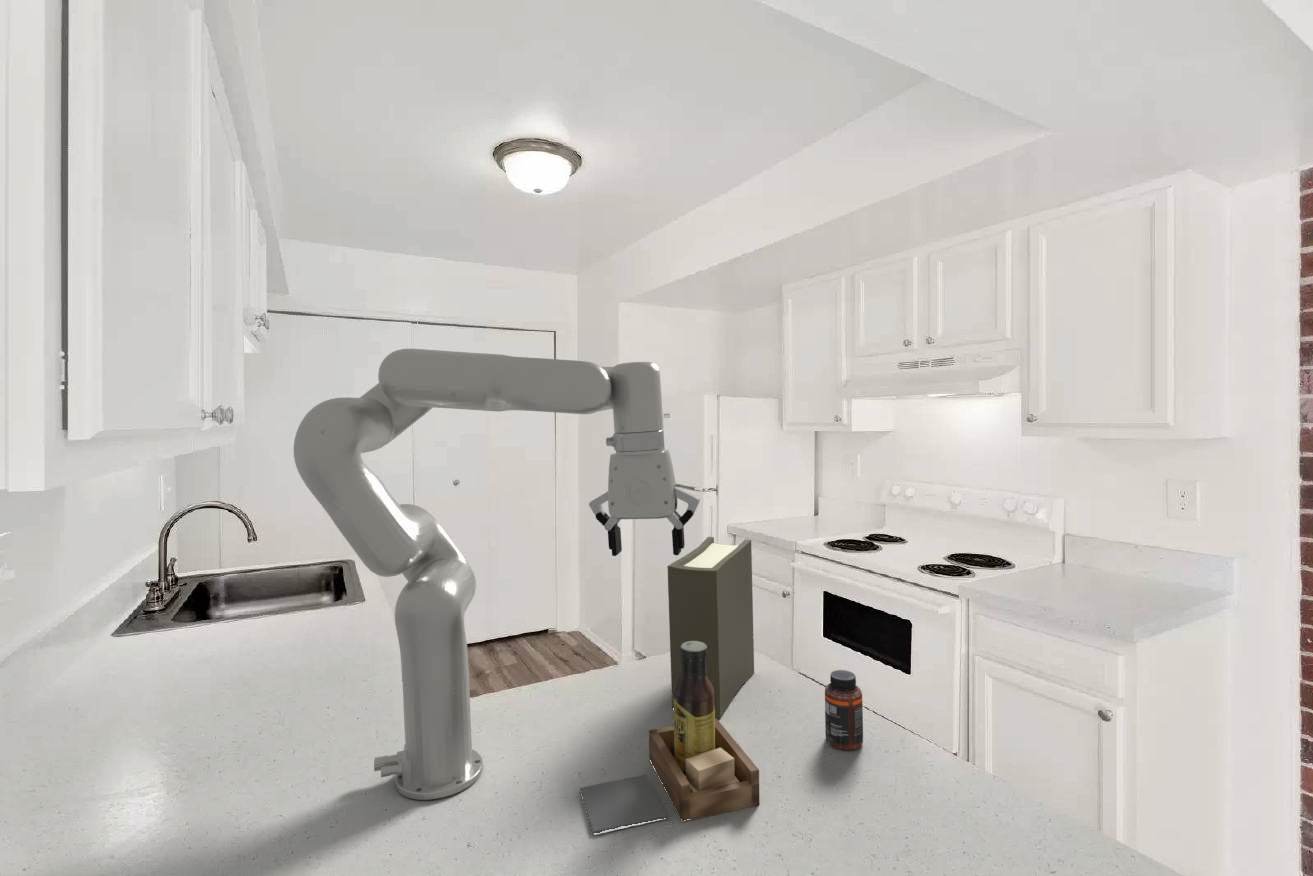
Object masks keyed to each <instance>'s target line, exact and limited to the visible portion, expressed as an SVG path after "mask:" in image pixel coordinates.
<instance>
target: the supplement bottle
mask: <svg viewBox="0 0 1313 876" xmlns="http://www.w3.org/2000/svg"><path fill="white" fill-rule="evenodd" d="M829 677H830V681H829V682H830V683H828V684H827V685H826V687H825V688H824V714H825V715H824V716H825V718H824V720H825V722H824V723H825V726H824V727H825V728H824V732H825V740H826V742H827V743H828V745H830V746H832V747H833V748H835V749H838V750H842V751H843V750H844V751H852V750H853V751H854V750H857V749H859V748H860V747H862V746H863V743H864V717H863V714H864V713H863V710H864V709H863V693H862V690H861V689H860V687H859V686H858V685H856V684H857V676H856V674H855V673H853V672H852V671H850V670H845V669H837V670H833V671H832V672H830V676H829Z"/></svg>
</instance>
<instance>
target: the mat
mask: <svg viewBox="0 0 1313 876" xmlns="http://www.w3.org/2000/svg"><path fill="white" fill-rule="evenodd" d="M580 791H581V794H582V797H583V800H582V802H583V801H584V803H583V806H584V805H585V807H584V809H585V808H586V810H585V812H586V811H587V813H586V816H587V815H588V816H587V818H588V817H589V819H588V821H589V820H590V823H589V825H590V824H591V826H590V828H591V827H592V829H591V831H592V830H593V832H592V834H593V833H600V832H602V831H605V830H609V829H615V828H618V827H621V826H628V825H632V824H638V823H642V822H648V821H653V820H657V819H664V818H667V813H666V811H665V809H664V808H663V805H662V803H661V802H660V799H659V797H658V796H657V794H656V792H655V789H654V788H653V785H652V784H651V781H650V780H649V778H648V776H647V774H641V775H637V776H636V775H635V776H632V777H626V778H622V779H617V780H612V781H607V782H602V783H597V784H592V785H588V786H587V785H586V786H583V787H579V792H580ZM581 794H580V795H581ZM582 797H581V798H582ZM667 819H668V818H667Z"/></svg>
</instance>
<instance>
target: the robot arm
mask: <svg viewBox="0 0 1313 876" xmlns="http://www.w3.org/2000/svg"><path fill="white" fill-rule="evenodd" d="M377 374H378V375H377V377H378V383H377V384H375V385H374V386H373V387H372V388H371V389H369V390H367V392H365V393H364V394H363V395H361V396H360V397H334V398H330V399H327V400H324V401H322V402H320V403H318V404H316V405H315V406H314V407H312V408H311V409H310V410H308V412H307V413H306V414H305V416H304V417H303V418H302V420H301V421H300V424H299V425H298V427H297V429H296V433H295V436H294V439H293V457H294V463H295V466H296V470H297V472H298V474H299V476H300V478H301V479H302V482H303V483H304V485H305V486H306V488H307V489H308V490H309V491H310V493H311V494H312V495H313V497H314V498H315V499H316V501H317V502H318V503H319V504H320V505H321V507H322V508H323V509H324V511H325V512H326V514H327V515H328V516H329V517H330V519H331V520H332V522H333V523H334V525H335V526H336V528H337V529H338V530H339V532H340V533H341V535H342V536H343V537H344V539H345V541H347V542H348V544H349V545H350V547H351V548H352V549H353V551H354V552H355V554H356V555H357V557H358V558H359V559H360V560H361V562H362V563H363V565H364V566H365V567H366V568H367V569H368V570H369V571H370V572H372V573H373V574H375V575H377V576H379V577H385V578H389V577H396V576H400V575H401V574H402V575H403V576H404V578H405V579H406V580H407V583H406V584H405V585H404V587H403V588H402V589H401V591H400V593H399V595H398V596H397V600H396V604H395V608H394V623H395V624H394V625H395V629H396V635H397V640H398V645H399V647H398V648H399V653H400V663H401V664H400V665H401V683H402V701H403V720H404V721H403V722H404V723H403V724H404V742H405V743H404V746H403V750H399V751H397V752H396V754H391V755H382V756H381V755H380V756H375V757H374V759H373V770H374V772H379V771H380V777H381V778H386V777H390V776H394V775H395V787H396V790H397V791H398V792H399V794H401V795H402V796H404V797H405V798H406V797H407V798H409V799H413V800H420V801H422V800H423V801H428V800H430V801H431V800H437V799H444V798H446V797H450V796H453V795H455V794H457V793H459V792H462V791H465V789H467V788H469V787H470V786H471V785H473V784H474V783H475V782H476V781H477V780H478V779H479V778H480V776H481V775H480V774H482V773H481V772H483V770H482V769H484V760H483V757H482V755H481V754H480V753H479V752H478V751H476V750H474V749H473V748H472V747H473V746H472V745H473V744H472V743H473V742H472V723H471V722H472V720H471V698H470V697H471V696H470V695H471V693H470V692H471V691H470V690H471V689H470V673H469V672H470V671H469V657H468V656H469V652H468V643H467V636H466V629H465V613H466V611H467V609H468V608H469V606H470V604H471V602H472V600H473V598H474V596H475V594H476V588H477V582H476V581H477V580H476V576H475V572H474V571H473V569H472V568H471V567H472V566H471V565H470V563H468V561H467V560H466V558H465V556H464V555H463V554H462V552H461V551H460V550H459V548H458V547H457V546H456V544H455V543H454V542H453V540H452V539H451V538H450V536H449V535H448V533H447V532H446V531H445V529H444V528H443V527H442V525H441V524H440V523H439V522H438V520H437V518H435V516H433V514H432V513H430V512H429V511H428V510H427V509H425V508H423V507H421V506H419V505H415V504H411V503H401V504H399V503H398V502H397V501H396V499H395V498H394V497H393V496H392V494H391V493H390V491H389V490H388V489H387V487H386V486H385V484H384V482H383V481H382V480H381V479H380V477H379V476H378V475H376V474H375V472H374V471H373V470H371V468H370V467H368V465H366V463H365V462H364V460H363V458H362V455H361V454H364V453H370V452H374V451H376V450H379V449H381V448H383V447H384V446H386V445H388V444H390V443H391V442H393V440H395V439H396V438H397V437H398V436H401V434H402V433H403V432H405V431H406V430H408V429H409V428H410V427H411V426H412V425H413V424H415V423H416V422H417V421H418V420H420V419H421V418H423V417H424V416H425V415H426V414H427V413H428V412H430V411H431V410H432V409H433V408H436V409H440V408H441V409H453V410H468V411H482V412H483V411H485V412H497V413H498V412H505V411H508V412H509V411H525V412H526V411H527V412H542V413H558V414H559V413H560V414H572V415H573V414H574V415H590V414H591V415H592V414H594V413H598V412H604V411H608V410H612V414H613V415H612V416H613V430H614V432H613V435H612V436H610V437H606V439H605V444H606V446H607V447H612V448H613V450H614V451H615V453H611V454H610V455H609V456H610V458H609V463H608V464H609V465H608V481H607V482H608V483H607V484H608V485H607V489H608V490H607V491H606V492H605V493H603V494H600V495H599V496H598V497H596V498H594V499H592V500H591V501H590V502H589V503H588V506H589V508H590V510H591V511H592V513H593V514H594V516H595V519H596V520H597V522H599V523H600V524H601V526H603V527H604V530H605V531H607V539H608V540H607V541H608V542H607V543H608V549H609V550H611V555H612V556H613V557H616V556H618V555H619V554H620V553H621V552H622V550H623V549H622V532H621V528H620V526H618V524H619V522H620V521H621V520H652V519H653V520H654V519H667V520H668V521H669V523H671V525H673V528H672V530H671V540H672V554H673V555H674V556H679V555H680V554H681V552H682V550H684V548H685V544H686V542H685V532H684V530H685V529H684V526H685V525H687V523H688V522H689V521H690V519H692V518H693V516H695V515H694V514H695V513H696V511H697V508H698V506H699V504H700V501H701V499H700V498H699V497H698V496H696V495H694V494H692V493H690V492H687V491H686V490H683V489H681V488H679V487H677V486H676V484H677V483H676V477H675V472H674V466H673V461H672V457H671V455H670V454H671V453H670V451H669V450H666V449H665V434H664V418H663V417H664V416H663V402H662V400H663V399H662V388H661V387H662V386H661V385H662V383H661V373H660V368H659V366H658V365H657V364H656V363H654V362H651V361H634V362H633V361H632V362H623V363H619V364H616V365H614V366H600V365H598V364H596V363H594V362H590V361H587V360H586V361H585V360H573V359H572V360H571V359H557V358H544V357H543V358H542V357H541V358H540V357H538V358H537V357H527V356H512V355H511V356H510V355H507V354H506V355H505V354H500V353H499V354H498V353H497V354H496V353H482V352H481V353H479V352H467V351H454V350H453V351H451V350H441V349H440V350H438V349H423V348H402V349H396V350H394V351H392V352H390V353H389V354H388V355H386V356H385V358H384V359H383V360H382V362H380V365H379V368H378V373H377ZM678 499H679V500H680V501H683V502H685V503H687V509H686V511H685V512H684V513H683V514H682V515H681V513H679V511H678V510H677V509H678ZM606 502H607V504H608V505H607V506H608V513H606V511H604V509H603V507H602V505H603V504H604V503H606ZM477 778H478V779H477Z"/></svg>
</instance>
